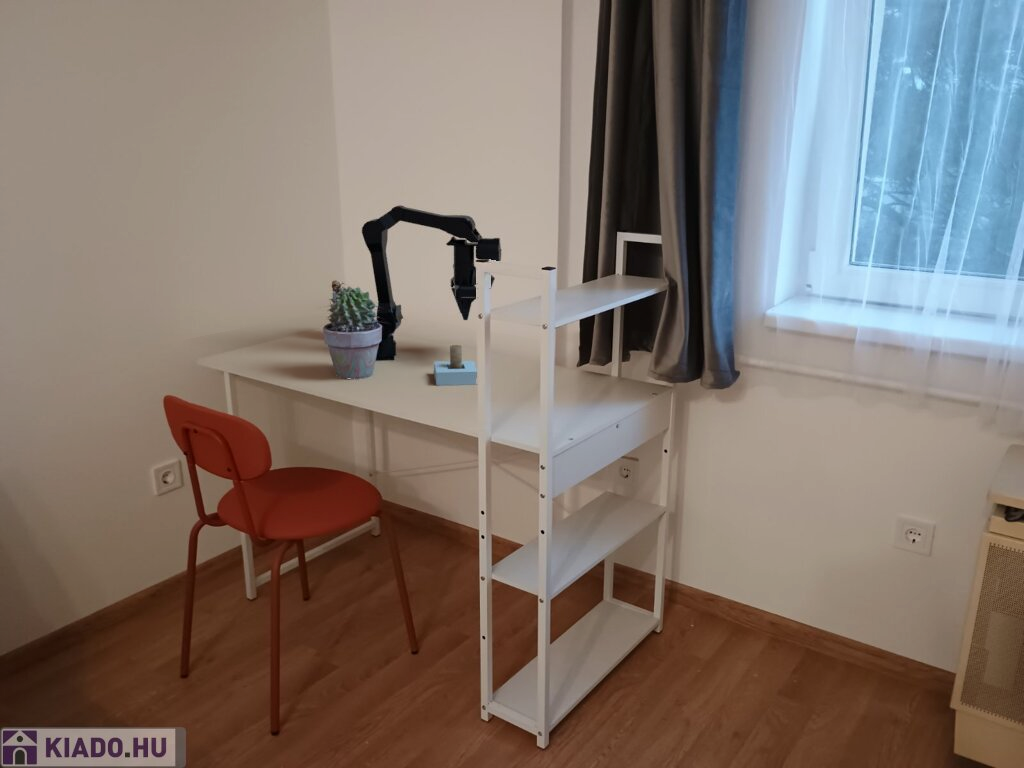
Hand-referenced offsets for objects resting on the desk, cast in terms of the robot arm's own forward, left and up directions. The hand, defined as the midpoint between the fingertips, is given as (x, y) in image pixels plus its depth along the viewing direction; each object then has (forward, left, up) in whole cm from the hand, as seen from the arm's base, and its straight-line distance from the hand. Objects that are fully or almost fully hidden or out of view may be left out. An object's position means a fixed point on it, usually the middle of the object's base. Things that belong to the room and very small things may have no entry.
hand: (464, 316), depth 252 cm
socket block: (-4, -19, -13) cm, 23 cm away
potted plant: (-30, -12, -13) cm, 35 cm away
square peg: (-4, -19, -13) cm, 23 cm away
